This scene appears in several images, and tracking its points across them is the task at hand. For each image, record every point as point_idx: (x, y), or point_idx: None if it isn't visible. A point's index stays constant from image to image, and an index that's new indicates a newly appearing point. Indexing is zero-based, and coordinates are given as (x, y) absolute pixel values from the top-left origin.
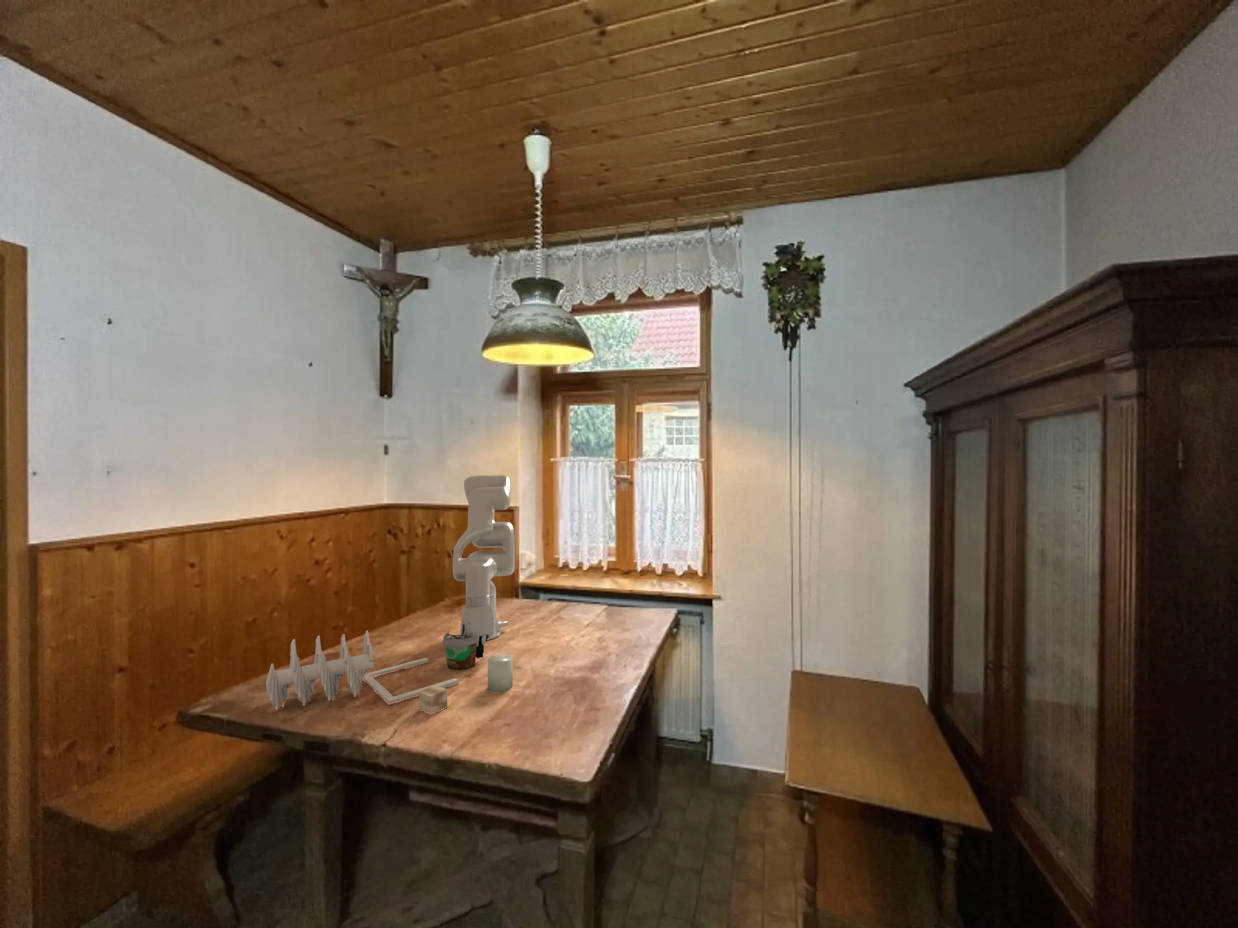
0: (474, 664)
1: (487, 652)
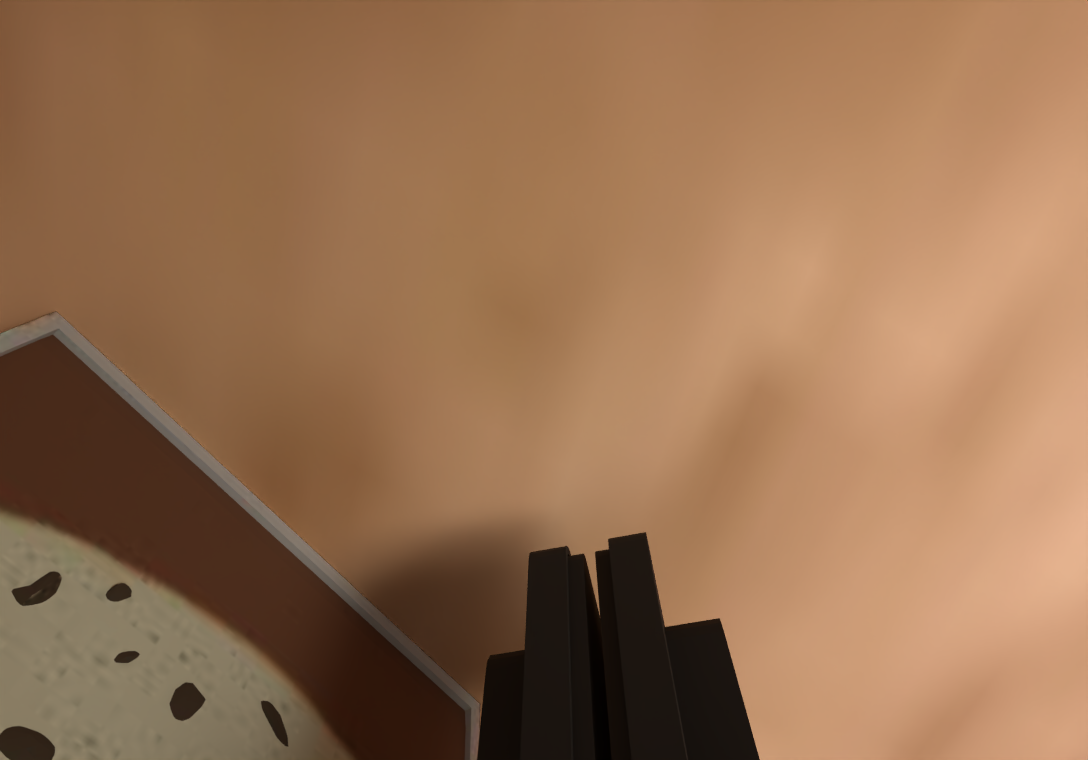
0: (465, 741)
1: (1000, 141)
